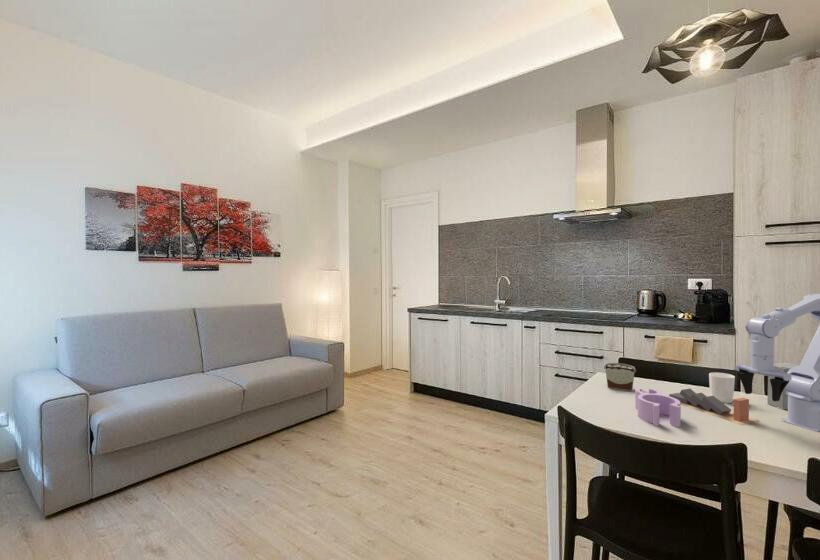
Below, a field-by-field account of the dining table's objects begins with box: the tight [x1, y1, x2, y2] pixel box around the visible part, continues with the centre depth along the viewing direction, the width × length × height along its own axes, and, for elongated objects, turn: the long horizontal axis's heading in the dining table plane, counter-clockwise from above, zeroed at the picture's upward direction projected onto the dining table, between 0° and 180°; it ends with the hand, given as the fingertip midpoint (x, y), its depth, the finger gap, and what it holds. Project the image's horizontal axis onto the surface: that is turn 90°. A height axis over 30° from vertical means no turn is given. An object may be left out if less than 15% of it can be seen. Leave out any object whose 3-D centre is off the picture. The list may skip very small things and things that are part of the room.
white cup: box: [708, 372, 736, 404], centre depth 153 cm, size 8×8×10 cm
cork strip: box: [680, 402, 760, 426], centre depth 142 cm, size 26×9×1 cm, turn 19°
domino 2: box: [679, 388, 701, 407], centre depth 149 cm, size 2×5×7 cm
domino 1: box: [668, 392, 691, 404], centre depth 152 cm, size 2×5×7 cm
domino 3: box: [691, 392, 713, 411], centre depth 144 cm, size 2×5×7 cm
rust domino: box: [733, 397, 750, 422], centre depth 133 cm, size 2×5×7 cm, turn 108°
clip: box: [634, 387, 682, 429], centre depth 139 cm, size 20×12×7 cm, turn 168°
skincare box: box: [767, 362, 800, 410], centre depth 145 cm, size 8×7×16 cm
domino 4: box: [702, 395, 732, 415], centre depth 140 cm, size 2×5×7 cm
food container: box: [603, 362, 637, 392], centre depth 171 cm, size 12×6×10 cm, turn 58°
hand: (761, 397), depth 127 cm, fingers open, 7 cm apart
